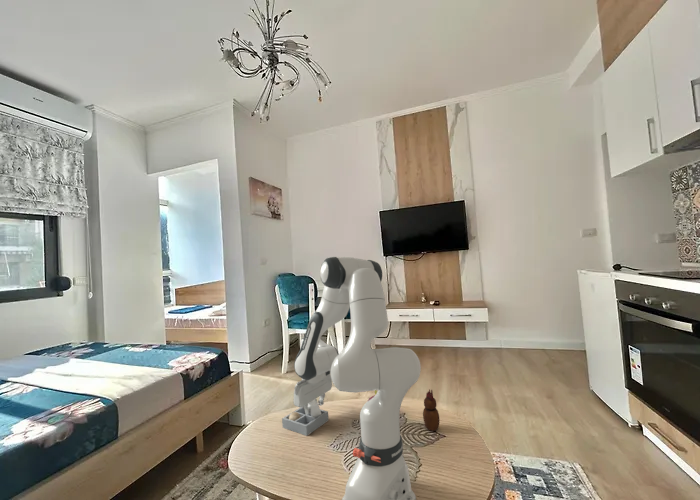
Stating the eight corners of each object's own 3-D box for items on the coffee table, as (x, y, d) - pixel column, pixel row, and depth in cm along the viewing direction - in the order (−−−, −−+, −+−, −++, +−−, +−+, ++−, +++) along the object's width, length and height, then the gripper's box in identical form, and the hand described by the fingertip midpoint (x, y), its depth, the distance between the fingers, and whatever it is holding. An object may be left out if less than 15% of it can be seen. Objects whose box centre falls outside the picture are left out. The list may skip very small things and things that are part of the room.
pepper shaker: (312, 420, 129) (306, 400, 127) (311, 414, 133) (304, 394, 131) (322, 415, 130) (315, 396, 128) (320, 409, 134) (313, 390, 132)
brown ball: (295, 428, 126) (294, 416, 126) (286, 425, 129) (286, 413, 129) (303, 422, 130) (302, 411, 130) (295, 420, 133) (294, 408, 133)
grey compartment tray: (306, 435, 121) (306, 426, 121) (282, 427, 129) (282, 418, 129) (328, 420, 132) (328, 411, 132) (305, 413, 139) (304, 405, 140)
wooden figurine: (442, 432, 117) (438, 391, 117) (426, 433, 117) (423, 392, 117) (437, 423, 124) (434, 384, 124) (422, 424, 124) (419, 385, 124)
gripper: (300, 385, 121) (302, 422, 121) (333, 368, 138) (335, 400, 137) (288, 382, 125) (290, 418, 124) (322, 366, 142) (324, 397, 141)
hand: (314, 408), depth 131 cm, fingers open, 7 cm apart
